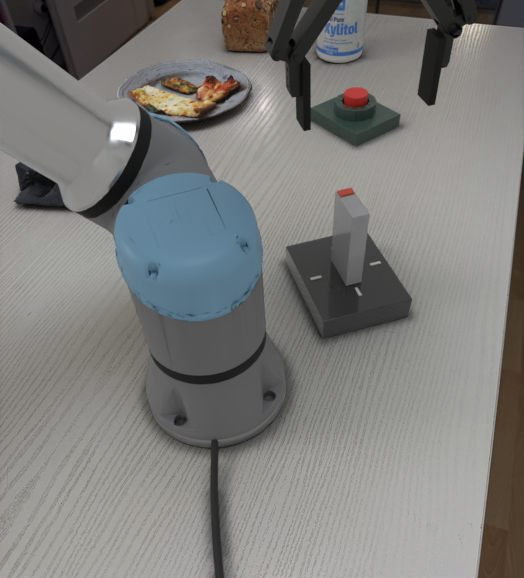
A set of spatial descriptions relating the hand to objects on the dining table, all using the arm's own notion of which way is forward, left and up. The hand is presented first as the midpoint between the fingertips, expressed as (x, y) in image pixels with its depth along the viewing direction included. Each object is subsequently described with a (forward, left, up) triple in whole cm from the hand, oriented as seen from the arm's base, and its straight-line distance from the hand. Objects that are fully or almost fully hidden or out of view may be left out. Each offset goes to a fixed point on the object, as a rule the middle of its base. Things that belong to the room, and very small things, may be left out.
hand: (365, 112), depth 57 cm
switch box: (+33, -14, -20) cm, 41 cm away
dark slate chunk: (+30, +32, -20) cm, 48 cm away
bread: (+77, -8, -21) cm, 80 cm away
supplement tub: (+60, -22, -21) cm, 67 cm away
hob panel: (-5, +3, -20) cm, 21 cm away
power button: (+33, -14, -17) cm, 40 cm away
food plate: (+53, +12, -21) cm, 58 cm away
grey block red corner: (-5, +3, -17) cm, 18 cm away
